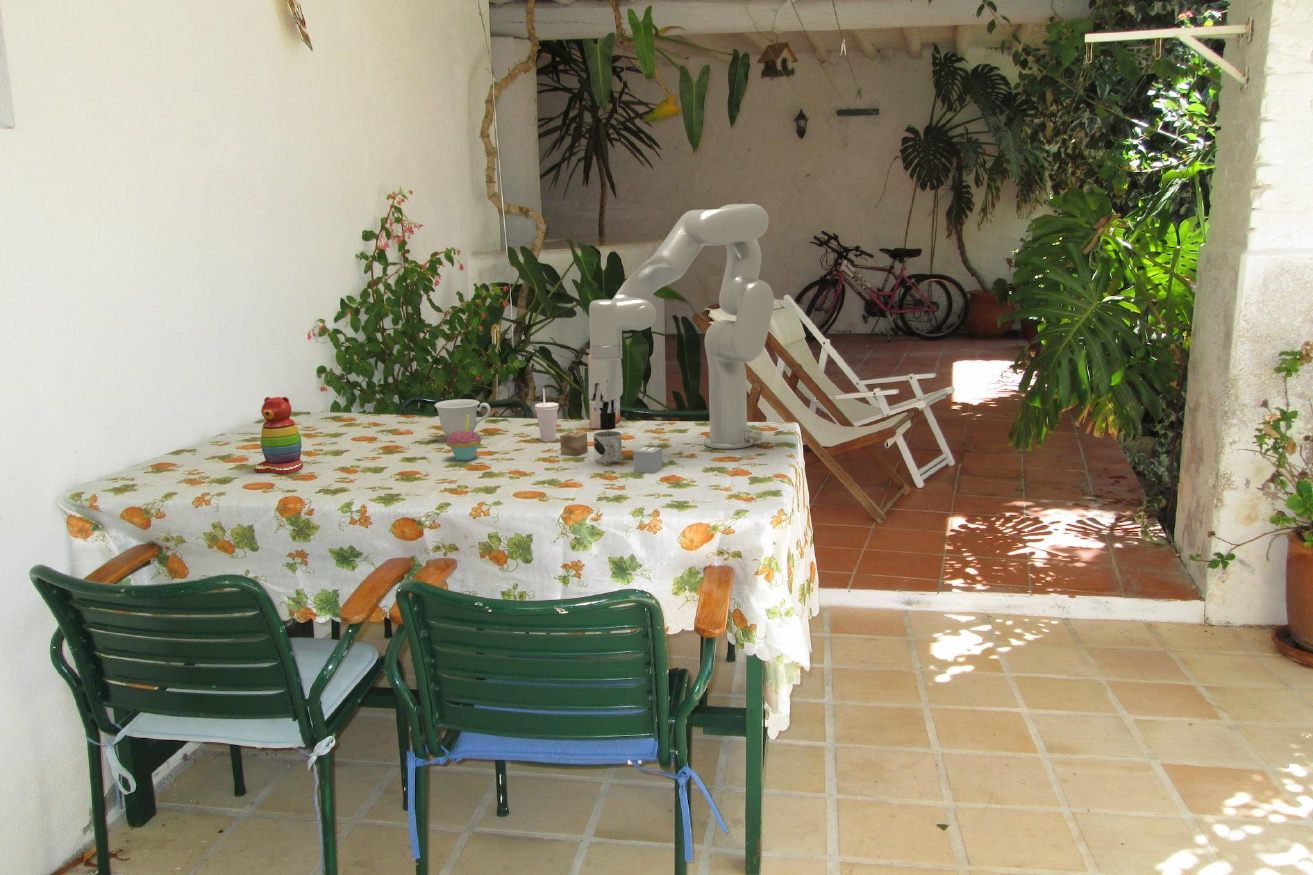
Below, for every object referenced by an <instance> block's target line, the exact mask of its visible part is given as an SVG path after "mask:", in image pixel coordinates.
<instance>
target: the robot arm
mask: <svg viewBox="0 0 1313 875" xmlns="http://www.w3.org/2000/svg"><path fill="white" fill-rule="evenodd" d="M769 222H770V219H769V215H768V212H767V211H766V210H765V208H763V207H762V206H761V205H759V204H756V203H733V204H732V203H731V204H726V205H723V206H720V207H719V208H715V209H714V208H713V209H711V208H710V209H692V210H688V211H686V212H685V213H683V215H682V216H681V217H680V218H679V219H678V220H677V222H676V224H674V226H673V228H672V229H671V230H670V232H669V233H668V235H667V236H666V237H665V239H664V240H663V241H662V243H661V245H660V246H659V247H658V248H657V250H656V252H655V253H654V254H653V255H652V256H651V257H650V258H649V259H648V260H646V261H645V262H644V263H643V264H642V265H641V266H640V267H639V268H638V269H636V270H635V271H634V272H633V273H632V274H631V275H630V276H629V277H628V278H627V279H626V280H625V281H624V282H623V283H622V285H621V286H620V288H619V289H618V290H617V292H616V293H615V295H614V296H613V298H612V299H596V300H592V301H591V302H590V303H589V306H588V318H589V352H590V353H589V355H590V359H591V361H590V369H589V376H588V401H589V400H590V401H595V400H596V401H595V407H598V408H599V412H600V427H601V429H600V430H607V431H613V430H614V429H616V424H615V411H616V403H617V402H618V401H619V397H621V396H622V395H623V392H624V391H623V390H624V380H623V368H622V367H623V366H622V359H623V339H622V337H623V336H622V334H623V333H622V331H623V330H633V331H643V330H646V329H648V328H650V327H651V326H653V324H654V323H655V321H656V318H657V311H656V308H655V306H654V304H652V303H653V302H652V303H651V302H650V301H649V300H648V299H649V298H650V297H651V296H652V295H653V294H654V293H656V292H657V291H658V290H661V288H663V287H665V286H668V285H670V284H672V283H674V282H676V281H677V280H679V279H680V278H682V277H683V276H684V275H685V273H686V271H687V270H688V269H689V267H690V266H691V265H692V263H693V261H694V260H696V259H695V258H696V257H697V256H698V254H699V253H700V252H701V250H702V249H703V247H705V246H706V247H708V246H711V247H713V246H714V247H715V246H723V245H724V246H725V248H726V253H727V256H726V257H727V258H726V263H725V270H724V274H723V279H722V283H721V287H720V291H719V295H718V296H719V297H718V304H719V307H720V309H721V310H722V312H724V313H725V314H727V315H729V316H735V317H736V318H735V320H730V319H721V320H717V321H715V322H713V323H712V324H711V325H710V326H709V327H708V328H707V330H706V333H705V336H704V348H705V354H706V359H707V360H706V361H707V366H708V368H707V370H708V399H709V400H708V402H709V403H708V404H709V409H708V410H709V436H708V437H706V438H704V439H703V445H704V446H706V447H709V448H712V449H717V450H718V449H720V450H721V449H722V450H731V449H732V450H733V449H743V448H747V447H750V446H752V445H753V444H754V441H755V440H758V441H759V440H760V441H762V440H763V438H764V436H763V432H762V431H761V430H760V431H759V430H752V429H751V425H748V411H747V410H748V408H747V406H748V405H747V404H748V402H747V401H748V398H747V393H748V392H747V384H748V382H747V381H748V380H747V370H746V364H745V363H750V362H753V361H755V360H757V359H758V358H759V357H760V355H761V354H762V352H763V350H764V348H765V346H766V342H767V338H768V334H769V330H770V326H771V323H772V322H771V321H772V317H773V312H774V306H775V305H774V304H775V297H774V292H773V290H772V287H771V286H770V284H768V283H767V282H765V281H764V280H762V279H759V277H760V272H761V265H762V251H761V246H760V244H759V241H758V239H760V238H761V237H763V235H764V234H765V233H766V232H767V230H768V227H769Z"/></svg>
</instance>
